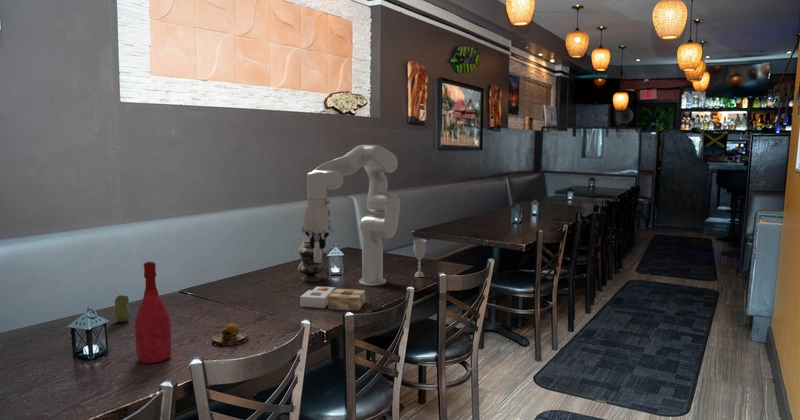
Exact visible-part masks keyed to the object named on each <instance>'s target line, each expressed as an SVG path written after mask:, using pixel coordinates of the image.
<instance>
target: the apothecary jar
mask: <svg viewBox="0 0 800 420" xmlns="http://www.w3.org/2000/svg"><path fill="white" fill-rule="evenodd" d="M297 252H298V254H299V255H300V263H299V264H298V266H297V271H299V273H301V274H304V275H305V276H303V277H300V279H299V280H300V281H301V282H306V283H314V282H318V281H321V280H322V277H321V276H319V275H317V274H320V273H322V272H323V270H324V264H323V263H322V262H321V263H314V248H313V249H311V246H310V240H306V241H302V242H301V246H299V248H298V251H297ZM323 253H324V249H322V254H323Z"/></svg>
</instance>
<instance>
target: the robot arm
mask: <svg viewBox="0 0 800 420" xmlns="http://www.w3.org/2000/svg"><path fill="white" fill-rule="evenodd" d="M398 161H399V160H398V158H397V156H396V155H395V154H394V153H392V152H391V150H388V149H386V148H385V147H383V146H381V145H378V144H359V145H356V146H355V147H353V149H351V150H349V152H347V153H345V154H344V155H343V156H339V157H337V158H334V159H332V160H329V161H326V162H323V163H322V164H320V165H319V166H317V167H316V168H315V169H313V170H311V171H310V172H308V173H307V174H306V186H307V187H306V191H307V193H306V195H307V196H306V197H307V198H306V199H307V201H306V202H307V205H306V206H305V211H304V219H303V227H302V228H301V229H300V231H301V232H302V233H303V234H305V235H306V236H307V237H308V239H309V241H310V246H311V249H313V248H314V241H313V233H314V232H321V240H320V249H323V250H324V249H325V247H326V245H327V244H326V239H327V238H328V236H330V235H332V234H333V233H335V232H334V231H335V230H334V228H333V227H332V218H331V217H332V216H331V211H330V206H328V204H330V203H331V201H330V200H328V198H327V190H336V189H337V190H338V189H340V188H341V187H342V185H343V184H344V177H345V176H349V175H353V174H355V173H357V171H359V170H360V169H361V168H362V167H363V168H364V170H365V171H366V174H367V175H368V181H369V186H368V191H367V198H366V209H367V210H368V211H369V212H371V213H376V214H384V215H375V214H369V215H365V216H363V217H362V218H361V219H360V222H359V229H360V230H359V231H360V234H361V246H362V248H361V262H362V263H361V266H362V268H361V269H362V271H361V275H362V276H361V278H360V279H358V283H359V284H360V285H364V286H371V287H373V286H376V287H377V286H381V285H385V284H386V283H387V279H386V278H385V277H384V276H383V275H384V274H383V273H384V272H383V271H384V269H383V268H384V267H383V265H384V264H383V263H384V262H383V261H384V255H383V254H384V253H383V250H384V247H383V241H382V240H381V238H387V239H389V238H392V237H394V236H395V235H396V233H397V230H398V225H399V219H400V218H399V217H400V211H401V200H400V197H399V196H398V195H397V194H396V193H394V192H393V193H392V192H388V187H389V186H388V185H389V184H388V179H387V177H386V175H385V173H393V172H395V171H396V170H397V168H398V164H399V163H398ZM383 277H384V278H383Z"/></svg>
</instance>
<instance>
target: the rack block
mask: <svg viewBox="0 0 800 420" xmlns="http://www.w3.org/2000/svg"><path fill="white" fill-rule="evenodd" d="M365 303H366V290H365V289H348V288H335V291H334V292H333V293H332V294H331V295H330V296H328V305H327V307H328V310H338V311H339V310H341V311H342V310H343V311H356V312H358V311H359V310H360V309H361V308H362V307H363V305H364V304H365Z"/></svg>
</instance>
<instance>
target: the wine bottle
mask: <svg viewBox="0 0 800 420" xmlns="http://www.w3.org/2000/svg"><path fill="white" fill-rule="evenodd" d="M143 271H144V273H143V278H144V279H145V289H144V293H143V297H142V300H141V302H140V304H139V308H138V309H137V310H138V311H137V312H136V317H135V322H134V335H135V336H134V337H135V349H136V350H135V351H136V356H137V357H136V359H137V361H139V362H140V363H143V364H156V362H158V363H161V362H164V361H166V360H168V359H169V358H170V357H171V355H172V331H171V330H172V329H171V320H170V319H171V318H170V316H169V311H168V310H167V308H166V306H165V304H164V302H163V300H162V299H161V297H160V295H159V290H158V288H157V284H156V277H157V272H156V263H155V262H154V261H146V262H145V263H143ZM167 358H168V359H167ZM165 359H166V360H165ZM163 360H164V361H163ZM160 361H161V362H160Z"/></svg>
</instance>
